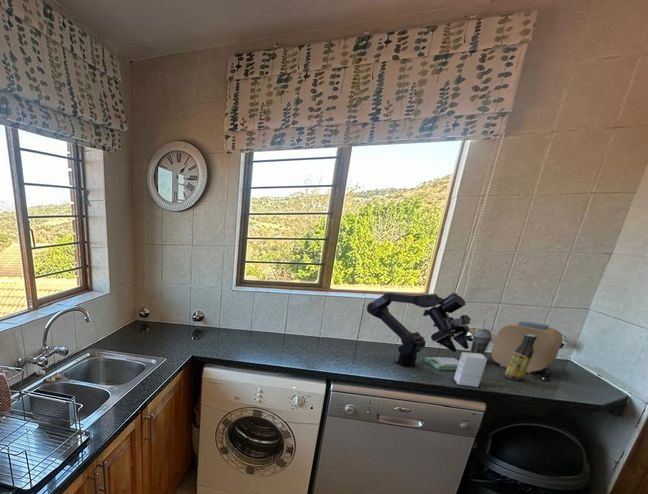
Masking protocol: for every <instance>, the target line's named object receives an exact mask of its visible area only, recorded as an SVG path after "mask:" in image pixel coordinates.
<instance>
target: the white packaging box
mask: <svg viewBox="0 0 648 494" xmlns="http://www.w3.org/2000/svg"><path fill="white" fill-rule="evenodd" d="M458 361H459V364H458V367H457V370H455V373H454V376H453V380H454V381H455V383H456V384H457V385H458V386H459V385H460V386H467V387H475V388H479V387H480V383H481V380H482V377H483V374H484V372H485V368H486V365H487V362H488V357H486V356H485V355H484V354H478V353H470V352H467V351H461V353H460V356H459V360H458Z"/></svg>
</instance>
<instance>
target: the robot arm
mask: <svg viewBox="0 0 648 494" xmlns="http://www.w3.org/2000/svg"><path fill="white" fill-rule="evenodd" d="M392 302H396V303H404V304H412V305H414V306H416V307H420V308H424V311H423V314H422V316H423V317H430V319H431V321H432V323H433V328H437V330H438V331H436V332H434V333H432V334H431V336H430V339H431V340H432V342H435V343H437V344H439V345H441V346H442V347H444V348H447V349H448V350H450V351H451V352H453V353H456V352H457V351H458V350H457V348H456V345H455V343H454V342H453V340H454V341H455V342H456V343H457V344H459V345H460V346H461V347H462V348H463V349H465V350H467V349H469V343H468V339H467V336H468V333H469V332H470V331H469V330H471V329H470V327H469V326H468V325H470V324H471V322H470V321H471V320H472V318H471V317H470V316H468V315H467V314H463V315H460V317H459V318H454V317H452V316H449V314H452V313H455V312H456V311H457V310H459V309H461V308H463V307H464V306H466V301H465V299H464V298H463V297H462V296H460V295H459V294H457V293H456V292H452V293H450V294H449V295H448V296H447V297H445V298H443V297H440V296H439V295H438V294H436V293H425V294H411V293H410V294H409V293H400V292H399V293H398V292H393V291H391V292H385V293H384V294H383V295H381V296H380V297H378V298H376V299H375V300H373V301H371V302H369V303H368V304H367V306H366V312H367V313H368V314H370V315H371V316H373V317H375V318H377V319H379V320H381V322H383V323H384V324H385V325H386V326H387V327H388V328H389V329H390V330H391V331H392V332H393V333H394V334H395V335H396V336H397V337H398V338H400V340H401V344H402V345H400V346H398V347H397V350H398V352H399V355H398V358H397V360H395V363H396V364H398V365H400V366H402V367H417V364H416V362H417V357H418V356H417V355H418V353H420V352H421V351H422V350H423V349H424V348H426V343H427V342H426V340H425V337H424V336H422V335H421V334H420V333H419V332H418V331H416V332H411V331H410V330H409V329H407V328H406V326H404V325H403V324H402V323H401V322H400V321H399V320H398V319H397V318H396V317H395V316H394V315H393V314H391V312H390V311H389V306H390V305H391V303H392ZM427 308H430V309H427Z"/></svg>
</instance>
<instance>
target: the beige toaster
mask: <svg viewBox="0 0 648 494" xmlns="http://www.w3.org/2000/svg"><path fill="white" fill-rule="evenodd" d="M525 334H532V335H536V336H537V338H536V340H535V342H534V344H533V350H534V353H533V355H532V358H531V361H530V363H529V366H528V368H527V370H526V372H525V373H527V374H532V373H534V372H538V371H539V372H540V371H542V370H544V369H547V368H548V367H549V366H551V365H552V364H553V363H554V362H555V360H556V359H557V356H558V353H559V351H560V348H561V346H562V343H563V334H562V333H561V331H559V330H557V329H555V328H552V327H550V325H548V324H544V323H539V322H532V321H527V320H526V321H524V320H521V321H518V322H516V323H512V324H509V325H505V326H503V327H502V328H501V329H500V330H499V331H498V332H497V334H496V336H495V339H494V342H493V345H492V348H491V354H490V355H491V358H492V360H493V361H494V362H495V363H497V364H499V367H503V368H506V369H507V367H508V365H509V362H510V360H511V358H512V355H513V353H514V351H515V350H516V349H517V348H518V347H519V346H520V344H521V343H522V341H523V339H524V335H525Z"/></svg>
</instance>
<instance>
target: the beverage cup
mask: <svg viewBox="0 0 648 494" xmlns="http://www.w3.org/2000/svg"><path fill="white" fill-rule="evenodd" d="M485 325H486V319H484V320H483V324H482V328H479V329H477V330H476V331H475V332H474V333H473V335H472V342H471V346H470V347H471V348H470V352H469V353H478V354H483V355H484V354H485V353H486V349H487V348H488V345H489V343H490V342H491V340H492V337H493V336H492V335H493V334H492V332H491V331H490V330H489V329H486V328H485Z"/></svg>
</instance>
